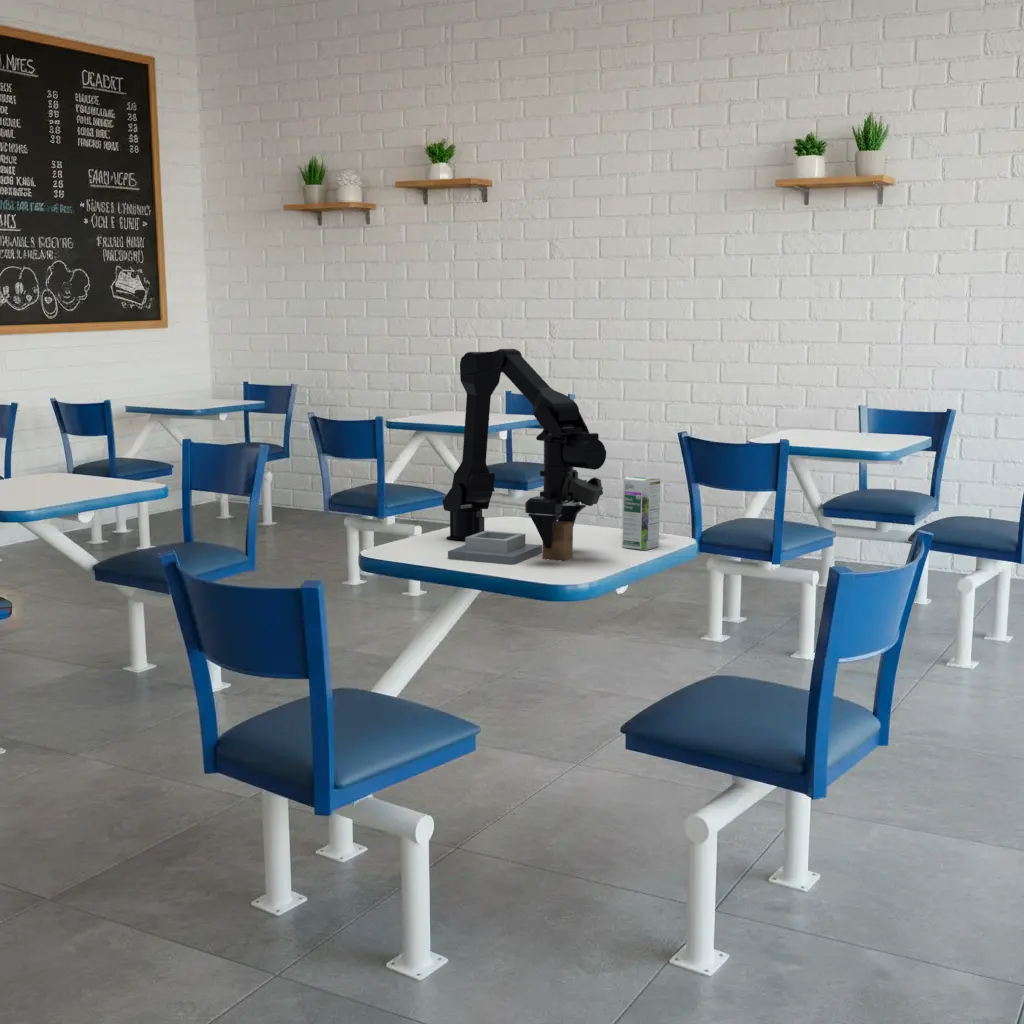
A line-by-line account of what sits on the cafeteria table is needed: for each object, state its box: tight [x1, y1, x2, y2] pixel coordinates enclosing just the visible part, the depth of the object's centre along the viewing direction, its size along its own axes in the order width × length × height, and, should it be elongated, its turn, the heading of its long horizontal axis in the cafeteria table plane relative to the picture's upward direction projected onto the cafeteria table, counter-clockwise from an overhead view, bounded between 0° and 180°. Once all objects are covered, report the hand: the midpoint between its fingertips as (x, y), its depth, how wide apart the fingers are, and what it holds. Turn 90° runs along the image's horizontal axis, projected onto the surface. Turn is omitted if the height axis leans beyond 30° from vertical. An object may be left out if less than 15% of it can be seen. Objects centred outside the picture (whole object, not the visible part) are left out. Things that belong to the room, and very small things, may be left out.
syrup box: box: [621, 475, 661, 551], centre depth 249 cm, size 6×6×14 cm
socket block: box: [447, 530, 543, 565], centre depth 240 cm, size 14×14×4 cm
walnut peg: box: [542, 520, 574, 562], centre depth 238 cm, size 4×4×7 cm
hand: (557, 544), depth 238 cm, fingers open, 9 cm apart
